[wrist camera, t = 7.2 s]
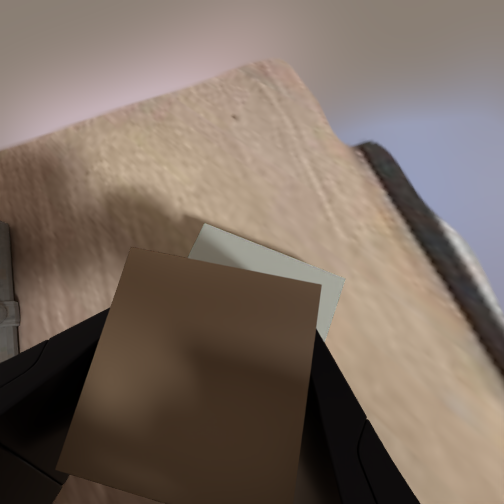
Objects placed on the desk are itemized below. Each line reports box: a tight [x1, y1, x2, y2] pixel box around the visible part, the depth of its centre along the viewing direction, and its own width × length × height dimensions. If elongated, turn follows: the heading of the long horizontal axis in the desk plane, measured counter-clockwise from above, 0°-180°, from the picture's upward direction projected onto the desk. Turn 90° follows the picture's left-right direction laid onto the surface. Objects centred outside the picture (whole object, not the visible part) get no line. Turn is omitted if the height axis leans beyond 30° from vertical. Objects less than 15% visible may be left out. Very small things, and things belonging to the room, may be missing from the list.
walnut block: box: [55, 247, 322, 504], centre depth 10 cm, size 5×5×10 cm
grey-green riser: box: [188, 223, 345, 342], centre depth 18 cm, size 12×12×4 cm
